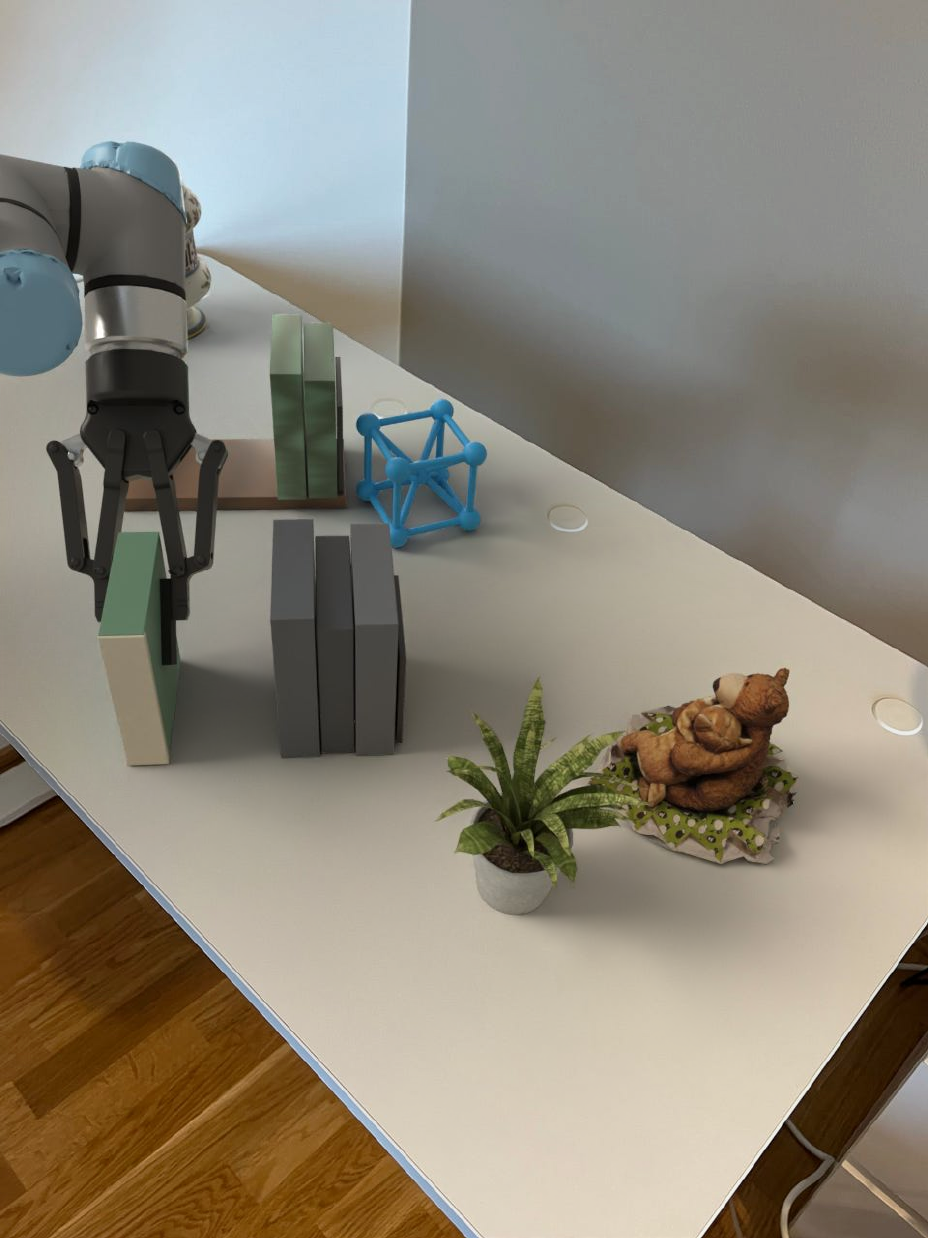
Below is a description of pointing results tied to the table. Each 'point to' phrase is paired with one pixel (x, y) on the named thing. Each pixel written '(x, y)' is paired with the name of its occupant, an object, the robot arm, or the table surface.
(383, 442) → the molecular structure
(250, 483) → the book shelf
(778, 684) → the bear figurine
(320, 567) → the grey books
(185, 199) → the apothecary jar
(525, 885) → the house plant
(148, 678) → the green book
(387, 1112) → the table surface
